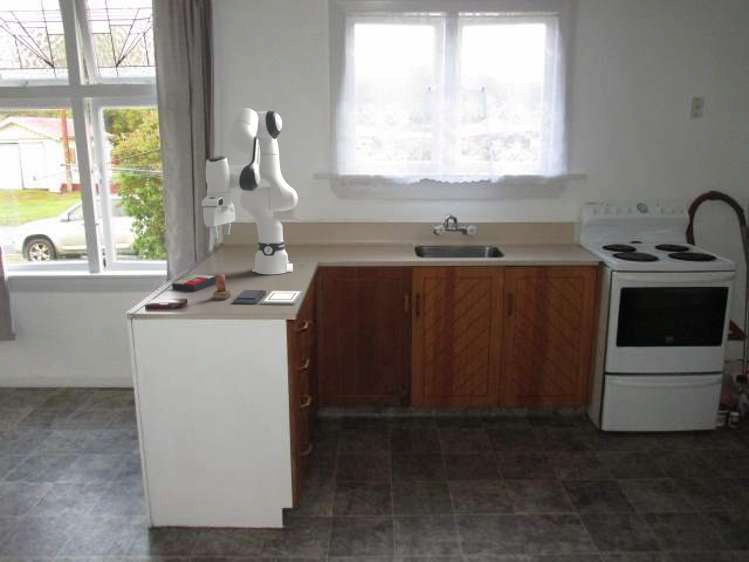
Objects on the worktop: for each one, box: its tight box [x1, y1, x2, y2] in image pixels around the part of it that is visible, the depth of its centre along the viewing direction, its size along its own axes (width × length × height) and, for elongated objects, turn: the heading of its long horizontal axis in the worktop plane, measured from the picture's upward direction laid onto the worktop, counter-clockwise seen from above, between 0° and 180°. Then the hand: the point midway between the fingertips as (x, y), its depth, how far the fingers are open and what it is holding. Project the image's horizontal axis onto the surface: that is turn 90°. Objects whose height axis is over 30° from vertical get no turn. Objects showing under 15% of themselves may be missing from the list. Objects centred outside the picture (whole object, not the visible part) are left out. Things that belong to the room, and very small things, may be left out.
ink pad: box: [232, 289, 267, 305], centre depth 239 cm, size 14×9×2 cm, turn 176°
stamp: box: [212, 273, 231, 301], centre depth 240 cm, size 6×5×9 cm
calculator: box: [171, 273, 217, 293], centre depth 258 cm, size 11×4×15 cm
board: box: [259, 290, 304, 306], centre depth 239 cm, size 18×13×1 cm
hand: (221, 236), depth 237 cm, fingers open, 8 cm apart
